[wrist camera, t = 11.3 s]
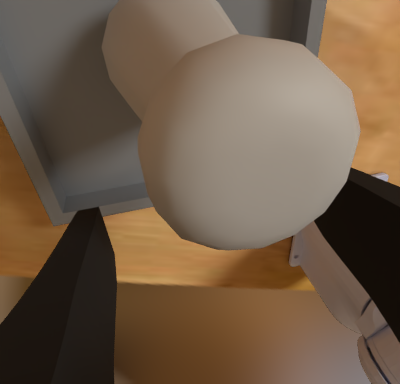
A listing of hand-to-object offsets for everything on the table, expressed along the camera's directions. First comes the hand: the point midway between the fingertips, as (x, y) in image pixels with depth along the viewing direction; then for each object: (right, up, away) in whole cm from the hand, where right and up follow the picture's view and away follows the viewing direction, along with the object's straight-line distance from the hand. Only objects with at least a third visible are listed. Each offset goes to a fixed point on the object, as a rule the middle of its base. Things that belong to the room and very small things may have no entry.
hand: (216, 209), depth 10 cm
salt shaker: (-2, +8, +6) cm, 10 cm away
